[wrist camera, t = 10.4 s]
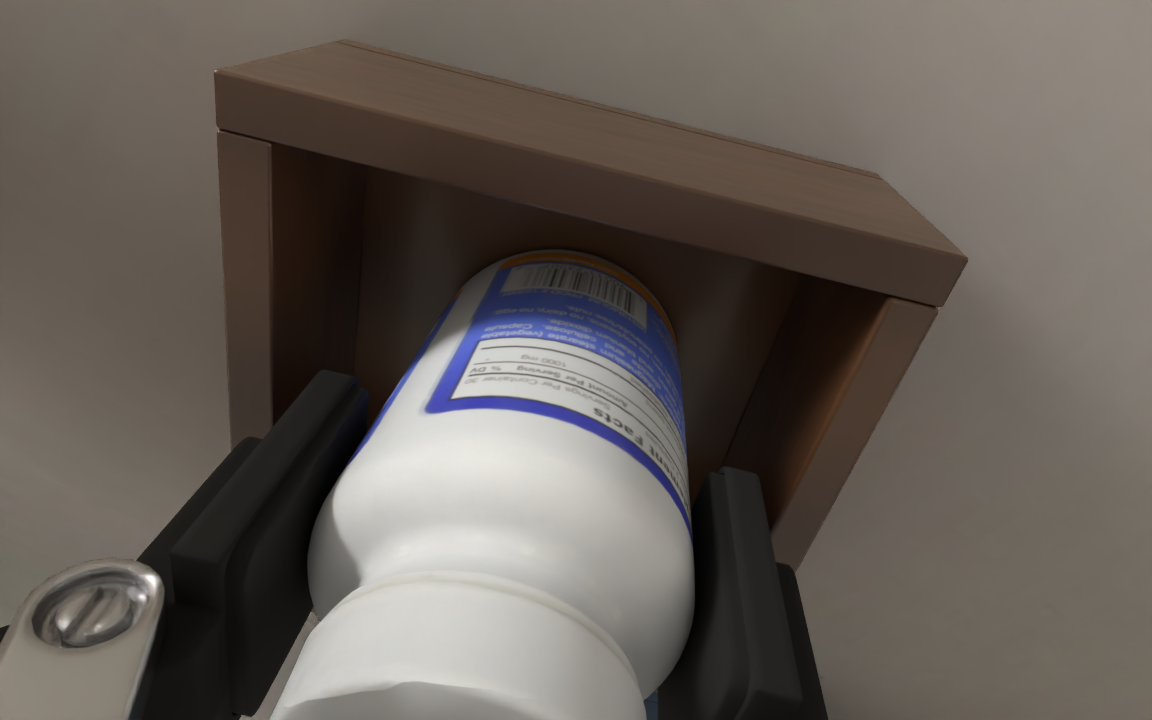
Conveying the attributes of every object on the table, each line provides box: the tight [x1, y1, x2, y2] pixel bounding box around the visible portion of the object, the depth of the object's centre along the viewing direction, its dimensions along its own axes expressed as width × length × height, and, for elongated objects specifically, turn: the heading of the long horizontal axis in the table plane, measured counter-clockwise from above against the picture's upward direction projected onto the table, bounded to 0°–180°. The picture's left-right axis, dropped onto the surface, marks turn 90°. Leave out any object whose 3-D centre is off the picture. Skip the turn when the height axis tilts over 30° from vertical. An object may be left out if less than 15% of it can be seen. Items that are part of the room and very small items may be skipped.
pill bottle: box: [270, 249, 695, 720], centre depth 11 cm, size 5×5×10 cm
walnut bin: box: [214, 40, 968, 692], centre depth 14 cm, size 11×11×4 cm
